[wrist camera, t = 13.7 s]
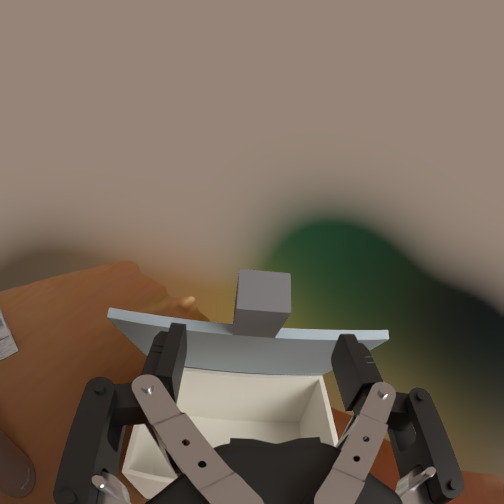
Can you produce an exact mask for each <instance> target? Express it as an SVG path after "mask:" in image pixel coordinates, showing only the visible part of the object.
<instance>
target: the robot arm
mask: <svg viewBox="0 0 504 504" xmlns="http://www.w3.org/2000/svg"><path fill="white" fill-rule="evenodd" d="M186 355H187V330H186V324H182V323H174V322H172V323H171V325H170V328H169V331H168V332H166V331H160V332H159V333H158V334H157V335H156V336H155V337H154V339H153V342H152V346H151V348H150V350H149V353H148V356H147V359H146V362H145V365H144V368H143V371H142V373H141V375H140V376H139V377H137V378H136V379H135V380H134V381H133V382H131V383H127V384H113V383H112V382H111V381H110V380H109V379H107V378H104V377H96V378H93V379H91V380H90V381H89V382H88V383H87V385H86V387H85V390H84V392H83V395H82V398H81V400H80V403H79V406H78V409H77V412H76V415H75V417H74V420H73V423H72V426H71V429H70V433H69V436H68V439H67V442H66V446H65V449H64V452H63V456H62V459H61V463H60V467H59V471H58V475H57V479H56V483H55V487H54V492H53V497H54V500H55V502H56V504H131V503H130V500H129V492H128V490H127V488H126V487H125V486H124V485H123V484H122V483H121V482H120V481H119V480H118V479H117V472H118V466H119V461H120V455H121V450H122V445H123V440H124V435H125V430H126V425H139V424H145V426H146V427H147V429H148V431H149V433H150V434H151V436H152V438H153V439H154V441H155V443H156V444H157V446H158V447H159V449H160V451H161V452H162V454H163V456H164V458H165V460H166V461H167V463H168V464H169V466H170V467H171V469H172V470H173V472H174V473H175V475H176V476H177V478H176V479H175V480H174V481H173V482H171V483H170V484H169V485H168V486H166V487H165V488H164V489H163V490H162V491H160V492H159V493H158V494H156V495H155V496H154V497H153V498H151V499H150V500H149V501H147V502H146V503H145V504H445V503H447V502H449V501H451V500H452V499H454V498H456V497H458V496H459V495H460V494H461V493H462V491H463V489H464V480H463V477H462V474H461V471H460V468H459V465H458V463H457V460H456V457H455V454H454V451H453V449H452V446H451V444H450V441H449V438H448V436H447V433H446V431H445V429H444V426H443V424H442V421H441V419H440V416H439V414H438V412H437V410H436V407H435V405H434V403H433V401H432V398H431V396H430V394H429V393H428V392H427V391H426V390H424V389H422V388H414V389H412V390H411V391H410V393H409V394H406V393H399V392H395V390H394V388H393V387H392V386H391V385H389V384H387V383H384V382H383V380H382V378H381V376H380V373H379V371H378V369H377V367H376V365H375V363H374V360H373V358H372V357H371V354H370V352H369V350H368V348H367V347H366V346H365V345H364V344H363V343H358V340H357V338H356V336H355V335H354V334H340V335H339V337H338V340H337V342H336V345H335V347H334V350H333V352H332V355H331V365H332V368H333V371H334V374H335V378H336V380H337V384H338V387H339V391H340V394H341V397H342V401H343V404H344V407H345V410H346V411H352V410H353V411H354V415H353V416H352V418H351V420H350V422H349V424H348V426H347V428H346V429H345V431H344V433H343V435H342V437H341V438H340V440H339V442H338V443H337V445H336V446H335V447H334V446H332V445H329V444H326V443H321V441H320V437H311V438H298V439H294V440H290V441H287V442H283V443H278V444H275V443H270V442H265V441H260V440H256V439H243V438H230V443H228V444H223V445H219V446H217V447H214V448H212V446H211V445H210V444H209V443H208V441H207V440H206V439H205V437H204V436H203V435H202V434H201V432H200V431H199V430H198V428H197V427H196V426H195V424H194V423H193V422H192V420H191V419H190V418H189V416H188V415H187V414H186V413H184V412H183V413H182V412H181V411H180V409H179V408H178V407H177V400H178V394H179V389H180V384H181V379H182V374H183V370H184V365H185V360H186ZM412 425H413V426H412ZM413 427H414V428H413ZM414 430H415V431H414ZM386 431H388V434H389V437H390V441H391V444H392V448H393V452H394V455H395V459H396V463H397V467H398V471H399V475H400V480H399V481H398V483H397V490H396V492H395V491H393V490H392V489H390V488H389V487H388V486H386V485H385V484H383V483H382V482H381V481H379V480H378V479H377V478H375V477H374V476H373V475H371V474H370V473H369V470H370V468H371V466H372V464H373V462H374V460H375V457H376V455H377V453H378V450H379V448H380V446H381V443H382V441H383V438H384V436H385V433H386ZM415 432H416V434H415ZM34 483H35V471H34V467H33V464H32V462H31V461H30V459H29V458H28V456H27V455H26V454H25V453H24V452H23V451H22V450H20V449H19V448H18V447H17V446H16V445H15V444H14V443H13V442H12V441H11V440H10V439H9V438H8V437H7V436H6V435H5V434H4V433H3V431H2V430H1V429H0V490H1V491H3V492H4V493H6V494H8V495H10V496H13V497H22V496H25V495H27V494H28V493H29V492H30V491H31V490H32V488H33V486H34Z"/></svg>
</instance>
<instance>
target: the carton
mask: <svg viewBox="0 0 504 504" xmlns="http://www.w3.org/2000/svg"><path fill="white" fill-rule="evenodd" d="M177 407H178V408H179V409H180V411H181V412H182V413H183V412H184V413H186V414H187V415H188V416H189V418H190V419H191V420H192V422H193V423H194V424H195V426H196V427H197V428H198V430H199V431H200V432H201V434H202V435H203V436H204V437H205V439H206V440H207V441H208V443H209V444H210V445H211V446H212V448H214V447H217V446H219V445H223V444H228V443H230V438H243V439H256V440H260V441H265V442H270V443H275V444H278V443H283V442H287V441H290V440H294V439H298V438H311V437H320V441H321V443H326V444H329V445H332V446H334V447H335V446H336V445H337V443H338V437H337V433H336V429H335V425H334V420H333V416H332V412H331V408H330V404H329V400H328V396H327V392H326V388H325V384H324V380H323V376H289V375H260V374H244V373H231V372H220V371H210V370H201V369H193V368H185V367H184V370H183V374H182V379H181V384H180V389H179V394H178V400H177ZM122 473H123V474H124V475H125V477H126V478H127V479H128V480H129V481H130V482H131V483H132V484H133V486H134V487H135V488H136V489H137V490H138V491H139V492H140V493H141V494H142V495H143V496H144V497H145V498H147V499H151V498H153V497H154V496H155V495H156V494H158V493H159V492H160V491H162V490H163V489H164V488H165V487H166V486H168V485H169V484H170V483H171V482H173V481H174V480H175V479H176V478H177V476H176V475H175V473H174V472H173V470H172V469H171V467H170V466H169V464H168V463H167V461H166V460H165V458H164V456H163V454H162V452H161V451H160V449H159V447H158V446H157V444H156V443H155V441H154V439H153V438H152V436H151V434H150V433H149V431H148V429H147V427H146V426H145V424H139V425H134V427H133V431H132V434H131V438H130V442H129V446H128V449H127V453H126V457H125V461H124V465H123V469H122Z"/></svg>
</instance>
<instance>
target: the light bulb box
mask: <svg viewBox="0 0 504 504" xmlns="http://www.w3.org/2000/svg"><path fill="white" fill-rule="evenodd" d="M17 351H18V348H17V346H16V344H15V341H14V339H13V336H12V334H11V331H10V329H9V327H8V325H7V322H6V320H5V318H4V315H3V313H2V311H1V308H0V360H2V359H4V358H6V357H8V356H10V355H11V354H13V353H15V352H17Z"/></svg>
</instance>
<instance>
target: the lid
mask: <svg viewBox="0 0 504 504" xmlns="http://www.w3.org/2000/svg"><path fill="white" fill-rule="evenodd" d="M290 314H291V278H290V274H289V273H278V272H268V271H258V270H246V269H240V270H239V277H238V284H237V291H236V300H235V309H234V321H233V324H224V323H214V322H205V321H197V320H188V319H180V318H173V317H165V316H158V315H151V314H145V313H139V312H132V311H126V310H121V309H115V308H109V311H108V315H107V318H108V319H109V320H110V321H111V322H112V323H113V324H114V325H115V326H116V327H117V328H118V329H119V330H120V331H121V332H122V333H123V334H124V335H125V336H126V337H127V338H128V339H129V340H130V341H131V342H132V343H133V344H135V345H136V346H137V347H138V348H139V349H140V350H141V351H142V352H143V353H144V354H145V355H146V356H148V353H149V350H150V348H151V346H152V342H153V339H154V337H155V336H156V335H157V334H158V333H159V332H160V331H166V332H168V331H169V328H170V325H171V323H172V322H174V323H182V324H186V330H187V355H186V360H185V365H184V366H185V367H193V368H201V369H210V370H220V371H231V372H244V373H260V374H287V375H288V374H289V375H323V374H325V373H327V372H329V371H331V370H333V368H332V365H331V355H332V352H333V350H334V347H335V345H336V342H337V340H338V337H339V335H340V334H354V335H355V336H356V338H357V340H358V343H363V344H364V345H365V346H366V347H367V348H368V350H371V349H373V348H375V347H377V346H378V345H380V344H382V343H383V342H385V341H387V340H389V335H388V330H317V329H293V328H282V326H283V325H284V323H285V322H286V320H287V319H288V317H289V315H290Z"/></svg>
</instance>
